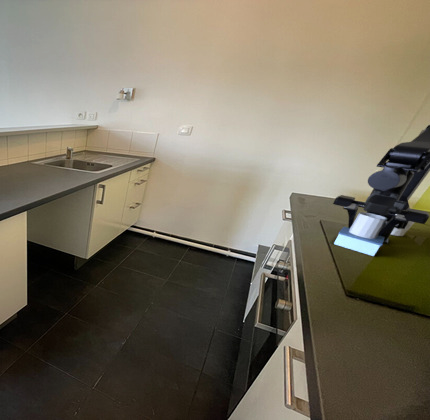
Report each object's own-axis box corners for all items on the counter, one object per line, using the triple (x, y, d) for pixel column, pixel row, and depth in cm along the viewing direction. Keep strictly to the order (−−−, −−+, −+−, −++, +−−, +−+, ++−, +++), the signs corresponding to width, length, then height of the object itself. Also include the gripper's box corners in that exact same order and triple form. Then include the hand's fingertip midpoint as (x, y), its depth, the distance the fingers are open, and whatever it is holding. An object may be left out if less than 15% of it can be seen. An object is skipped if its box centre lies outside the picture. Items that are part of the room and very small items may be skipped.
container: (337, 237, 90) (343, 226, 88) (377, 249, 83) (384, 237, 81) (332, 243, 85) (339, 232, 83) (374, 256, 78) (382, 244, 76)
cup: (350, 229, 86) (360, 210, 83) (376, 236, 81) (388, 217, 79) (347, 233, 83) (357, 214, 80) (374, 240, 78) (386, 220, 76)
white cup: (412, 238, 92) (429, 214, 89) (387, 235, 94) (403, 211, 90) (390, 229, 100) (405, 206, 96) (367, 226, 101) (381, 204, 97)
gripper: (341, 182, 78) (319, 226, 84) (444, 200, 64) (409, 251, 70) (347, 179, 85) (326, 219, 90) (442, 194, 70) (410, 241, 76)
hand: (363, 231), depth 82 cm, fingers open, 6 cm apart
